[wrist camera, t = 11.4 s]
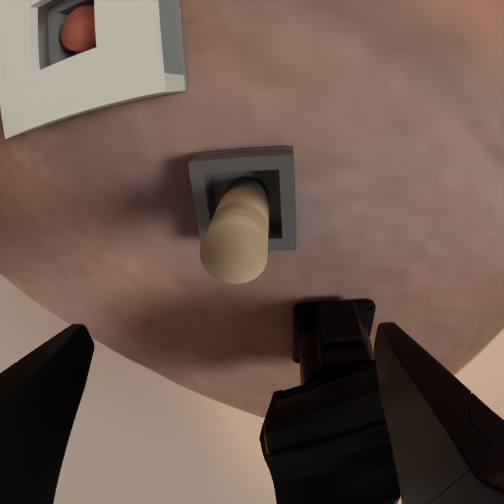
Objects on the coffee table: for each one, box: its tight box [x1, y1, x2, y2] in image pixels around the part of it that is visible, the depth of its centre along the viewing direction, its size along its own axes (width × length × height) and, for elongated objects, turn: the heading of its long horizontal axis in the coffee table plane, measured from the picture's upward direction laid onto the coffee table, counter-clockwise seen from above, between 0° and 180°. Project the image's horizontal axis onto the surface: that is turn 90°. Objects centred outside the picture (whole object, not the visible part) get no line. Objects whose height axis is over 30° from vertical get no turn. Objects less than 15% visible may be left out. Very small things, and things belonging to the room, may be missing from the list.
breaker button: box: [61, 5, 96, 52], centre depth 14 cm, size 3×3×2 cm
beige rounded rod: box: [200, 176, 269, 284], centre depth 16 cm, size 3×3×8 cm
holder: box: [188, 146, 296, 251], centre depth 19 cm, size 6×6×2 cm
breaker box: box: [0, 0, 188, 139], centre depth 13 cm, size 11×11×5 cm
